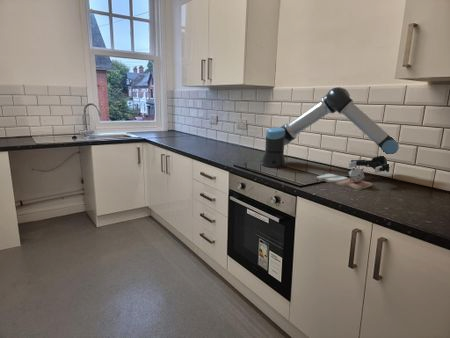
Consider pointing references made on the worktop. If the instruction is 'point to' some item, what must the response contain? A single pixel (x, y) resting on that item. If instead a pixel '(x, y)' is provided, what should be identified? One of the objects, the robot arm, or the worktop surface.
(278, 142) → the robot arm
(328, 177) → the game board
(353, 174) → the game die
